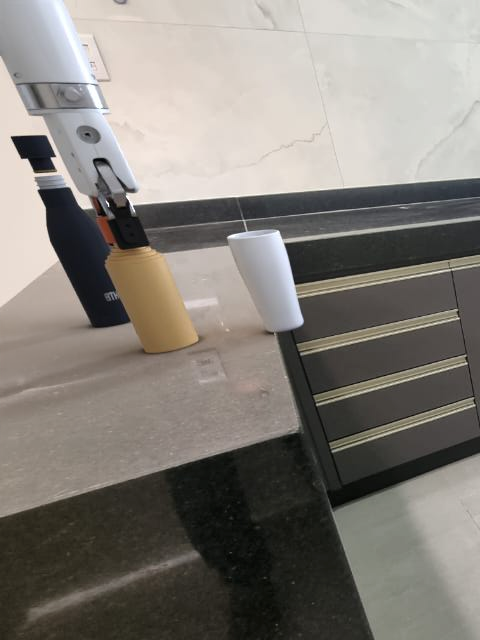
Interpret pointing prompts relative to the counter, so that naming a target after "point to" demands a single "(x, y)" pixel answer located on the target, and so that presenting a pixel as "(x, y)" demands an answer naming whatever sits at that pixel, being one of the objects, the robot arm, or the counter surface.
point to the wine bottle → (74, 237)
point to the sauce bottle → (151, 299)
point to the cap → (105, 229)
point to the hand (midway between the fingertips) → (129, 244)
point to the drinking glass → (267, 278)
